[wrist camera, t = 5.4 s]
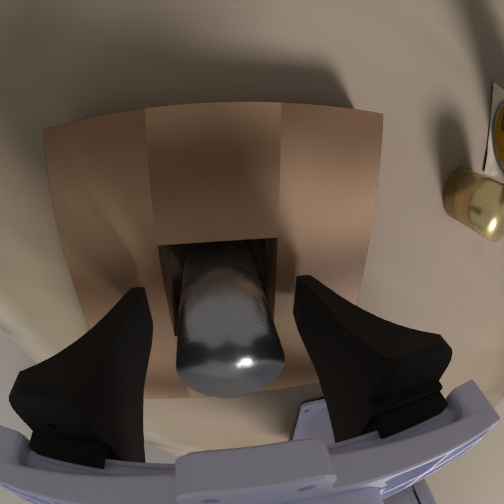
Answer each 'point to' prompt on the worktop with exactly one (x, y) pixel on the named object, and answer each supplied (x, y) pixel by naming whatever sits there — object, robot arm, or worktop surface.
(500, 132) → the condiment
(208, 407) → the worktop surface
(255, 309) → the grey cylinder
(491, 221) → the short stub
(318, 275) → the hole block
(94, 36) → the worktop surface
